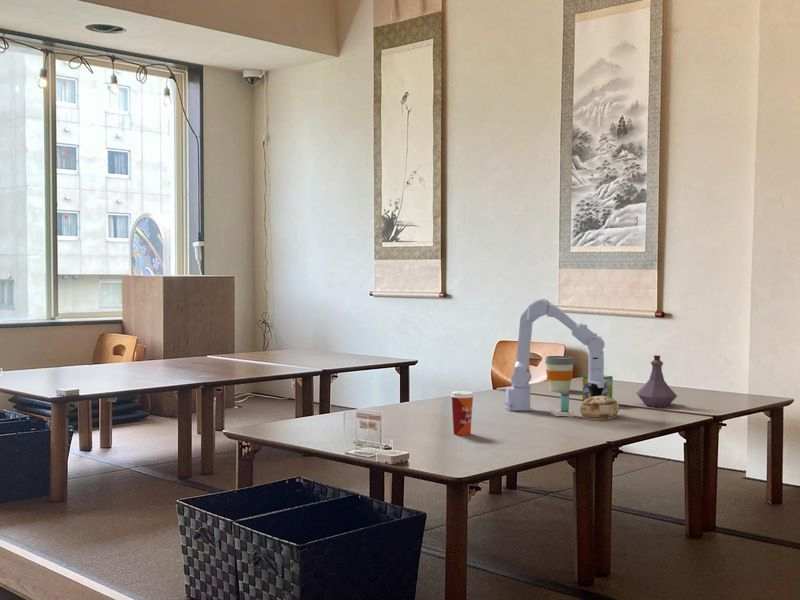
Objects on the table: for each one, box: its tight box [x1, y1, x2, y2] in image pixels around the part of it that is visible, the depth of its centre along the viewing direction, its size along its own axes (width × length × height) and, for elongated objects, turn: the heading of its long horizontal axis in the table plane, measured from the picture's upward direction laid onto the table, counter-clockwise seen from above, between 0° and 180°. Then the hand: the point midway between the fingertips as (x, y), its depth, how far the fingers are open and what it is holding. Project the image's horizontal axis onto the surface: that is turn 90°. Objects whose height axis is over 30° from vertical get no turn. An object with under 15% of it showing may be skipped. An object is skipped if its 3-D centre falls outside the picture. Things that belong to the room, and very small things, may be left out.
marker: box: [560, 392, 570, 412], centre depth 345 cm, size 3×3×7 cm
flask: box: [635, 354, 678, 407], centre depth 369 cm, size 16×16×20 cm
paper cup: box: [450, 390, 474, 436], centre depth 306 cm, size 8×8×14 cm
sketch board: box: [549, 409, 575, 417], centre depth 345 cm, size 7×8×1 cm
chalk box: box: [582, 374, 614, 402], centre depth 372 cm, size 9×9×15 cm
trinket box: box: [579, 396, 620, 421], centre depth 341 cm, size 13×15×8 cm
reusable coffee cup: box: [545, 355, 575, 393], centre depth 410 cm, size 13×13×15 cm
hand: (595, 404), depth 348 cm, fingers closed
